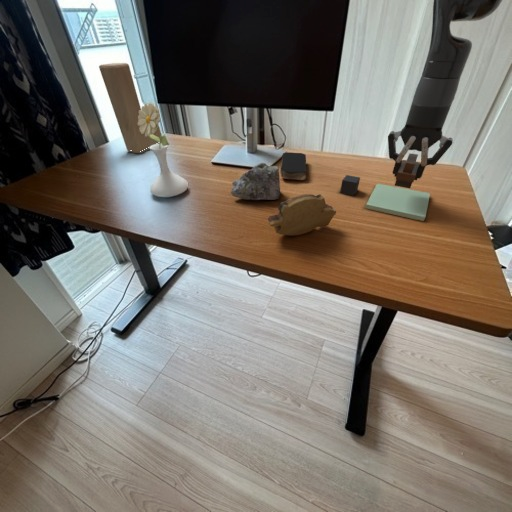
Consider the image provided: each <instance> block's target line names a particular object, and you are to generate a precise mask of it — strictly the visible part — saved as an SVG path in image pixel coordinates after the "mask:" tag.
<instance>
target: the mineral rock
mask: <svg viewBox="0 0 512 512" xmlns="http://www.w3.org/2000/svg"><path fill="white" fill-rule="evenodd" d="M280 180H281V179H280V170H279V167H278V166H277V165H268V164H267V163H265V162H260V163H258V164H256V165H254V166H253V167H252V168H251V169H250V170H248V171H246V172H243V174H242V175H241V176H240V177H239V178H238V179H235V180H234V181H233V182H232V183H231V184H232V189H231V191H230V193H231V195H232V196H233V197H234V198H238V199H242V200H248V201H249V200H253V201H260V200H262V201H263V200H265V201H266V200H271V201H272V200H274V201H275V200H279V199H280V197H281V193H282V192H281V186H280V183H281V182H280Z"/></svg>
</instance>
